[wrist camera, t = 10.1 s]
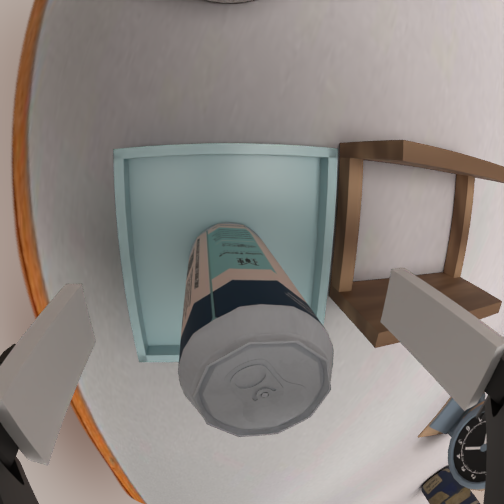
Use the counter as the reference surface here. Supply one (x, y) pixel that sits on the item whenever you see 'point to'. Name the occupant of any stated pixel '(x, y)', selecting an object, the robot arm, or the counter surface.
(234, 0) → the mug
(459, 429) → the alarm clock
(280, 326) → the beer can
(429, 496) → the canister
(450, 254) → the cradle
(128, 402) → the counter surface
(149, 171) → the tray
